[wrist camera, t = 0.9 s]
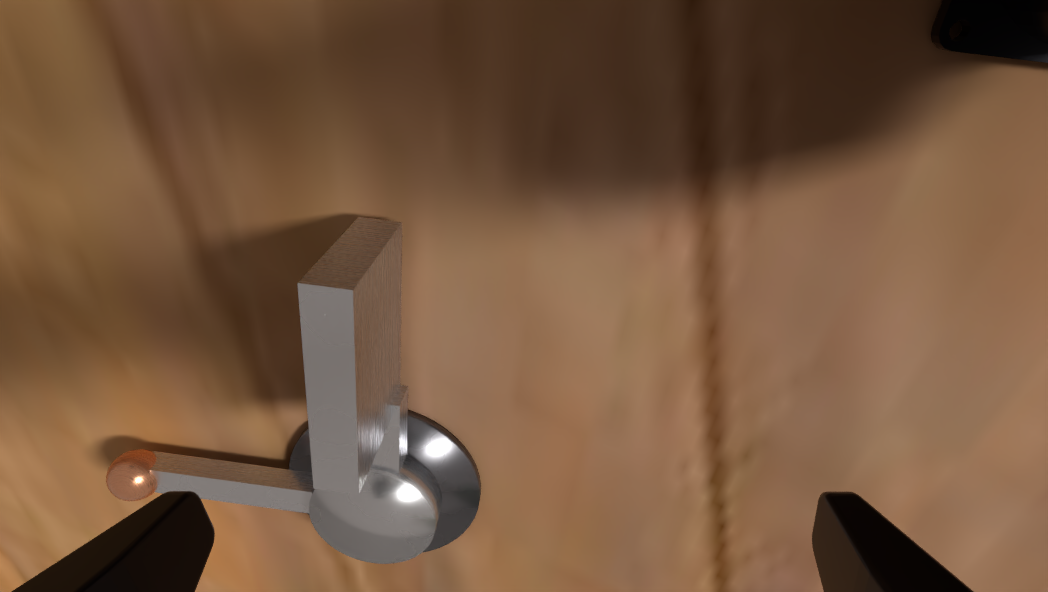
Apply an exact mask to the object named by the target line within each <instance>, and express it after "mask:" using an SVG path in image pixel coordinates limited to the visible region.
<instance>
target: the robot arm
mask: <svg viewBox="0 0 1048 592" xmlns="http://www.w3.org/2000/svg"><path fill="white" fill-rule="evenodd" d="M957 21H960V22H961V24H962V29H961V32H960V33H959V35H958V36H957V37H955V38H954V39H951V38H950V36H949V32H950V28H951V27H952V25H953V24H954V23H956V22H957ZM931 38H932V42H933V43H934V45H935V46H936V47H938V48H940V49H943V50H948V51H955V52H963V53H971V54H980V55H988V56H996V57H1004V58H1013V59H1021V60H1029V61H1038V62H1046V63H1048V0H943V1H942V4H941V7H940V9H939V12H938V14H937V17H936V20H935V22H934V25H933V27H932V32H931ZM214 534H215V533H214V528H213V525H212V523H211V521H210V519H209V516H208V514H207V512H206V510H205V508H204V506H203V503H202V501H201V499H200V497H199V496H198V495H197V494H196V493H195V492H192V491H170V492H166V493H164V494H162V495H160V496H159V497H157V498H156V499H154V500H153V501H151V502H149V503H148V504H146V505H145V506H143V507H142V508H140V509H139V510H137V511H136V512H134V513H132V514H131V515H129V516H128V517H126V518H125V519H123V520H122V521H120V522H118V523H117V524H115V525H114V526H112V527H111V528H109V529H108V530H106V531H105V532H103V533H101V534H100V535H98V536H97V537H95V538H94V539H92V540H91V541H89V542H88V543H86V544H84V545H83V546H81V547H80V548H78V549H77V550H75V551H74V552H72V553H71V554H69V555H67V556H66V557H64V558H63V559H61V560H60V561H58V562H57V563H55V564H53V565H52V566H50V567H49V568H47V569H46V570H44V571H43V572H41V573H40V574H38V575H36V576H35V577H33V578H32V579H30V580H29V581H27V582H26V583H24V584H23V585H21V586H19V587H18V588H16V589H15V590H13V591H12V592H195V590H196V587H197V585H198V582H199V580H200V577H201V575H202V572H203V569H204V567H205V564H206V562H207V559H208V557H209V554H210V552H211V549H212V546H213V543H214ZM812 545H813V551H814V556H815V559H816V563H817V567H818V571H819V575H820V578H821V582H822V586H823V590H824V592H973V591H972V590H971V589H970V588H969V587H967V586H966V585H965V584H964V583H963V582H962V581H960V580H959V579H958V578H957V577H956V576H954V575H953V574H952V573H951V572H950V571H948V570H947V569H946V568H945V567H944V566H942V565H941V564H940V563H939V562H938V561H937V560H935V559H934V558H933V557H932V556H931V555H929V554H928V553H927V552H926V551H925V550H923V549H922V548H921V547H920V546H919V545H917V544H916V543H915V542H914V541H913V540H911V539H910V538H909V537H908V536H907V535H906V534H904V533H903V532H902V531H901V530H900V529H898V528H897V527H896V526H895V525H894V524H892V523H891V522H890V521H889V520H888V519H886V518H885V517H884V516H883V515H882V514H881V513H879V512H878V511H877V510H876V509H875V508H873V507H872V506H871V505H870V504H869V503H867V502H866V501H865V500H864V499H863V498H861V497H860V496H859V495H857V494H855V493H853V492H824V493H822V494H821V495H820V497H819V500H818V505H817V511H816V516H815V522H814V527H813V533H812Z"/></svg>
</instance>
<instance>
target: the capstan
mask: <svg viewBox="0 0 1048 592" xmlns="http://www.w3.org/2000/svg"><path fill="white" fill-rule="evenodd" d="M401 278H402V222H397V221H389V220H381V219H373V218H365V217H358V218H357V219H356V220H355V221H354V222H353V224H352V225H351V226H350V227H349V228H348V229H347V230H346V231H345V232H344V233H343V234H342V235H341V236H340V238H339V239H338V240H337V241H336V242H335V243H334V244H333V245H332V246H331V247H330V248H329V249H328V251H327V252H326V253H325V254H324V255H323V256H322V257H321V258H320V259H319V260H318V261H317V262H316V263H315V265H314V266H313V267H312V268H311V269H310V270H309V271H308V272H307V273H306V274H305V275H304V276H303V278H302V279H301V280H300V281H299V282H298V283H297V284H298V297H299V310H300V323H301V335H302V348H303V361H304V374H305V387H306V399H307V412H308V425H309V438H310V451H311V463H312V473H311V472H303V471H296V470H289V469H281V468H274V467H267V466H259V465H252V464H245V463H237V462H230V461H223V460H215V459H208V458H201V457H193V456H186V455H179V454H172V453H164V452H157V451H153V452H151V451H148V450H143V449H137V450H131V451H128V452H126V453H124V454H122V455H120V456H119V457H117V458H116V459H115V460H114V461H113V462H112V464H111V465H110V467H109V469H108V471H107V475H106V483H107V487H108V489H109V491H110V492H111V493H112V494H113V495H114V496H115V497H117V498H119V499H121V500H125V501H138V500H141V499H144V498H147V497H148V496H150V495H152V494H153V493H154V492H158V493H166V492H170V491H192V492H195V493H196V494H197V495H198V496H199V497H200V498H201V499H208V500H216V501H223V502H230V503H237V504H245V505H252V506H259V507H266V508H274V509H281V510H288V511H295V512H303V513H309V515H310V519H311V522H312V524H313V526H314V528H315V530H316V531H317V532H318V534H319V535H320V536H321V537H322V538H323V539H324V540H325V541H326V542H327V543H328V544H329V545H330V546H332V547H333V548H335V549H336V550H338V551H340V552H341V553H343V554H345V555H347V556H349V557H352V558H355V559H358V560H361V561H365V562H371V563H380V564H389V563H398V562H403V561H406V560H409V559H412V558H414V557H416V556H417V555H419V554H421V553H422V552H423V551H424V550H425V549H426V548H427V547H428V546H429V545H430V543H431V541H432V539H433V536H434V533H435V529H436V526H437V522H438V518H439V514H440V510H441V506H442V493H441V489H440V486H439V483H438V482H437V480H436V478H435V477H434V475H433V474H432V473H431V471H430V470H429V469H428V468H427V467H426V466H424V465H423V464H422V463H421V462H419V461H418V460H416V459H415V458H413V457H411V456H410V455H408V454H407V425H408V386H404V385H400V361H401Z"/></svg>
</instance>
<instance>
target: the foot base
mask: <svg viewBox="0 0 1048 592" xmlns="http://www.w3.org/2000/svg"><path fill="white" fill-rule="evenodd" d="M407 454H408V455H410V456H411V457H413V458H415V459H416V460H418V461H419V462H421V463H422V464H423V465H424V466H426V467H427V468H428V469H429V470H430V471H431V473H432V474H433V475H434V477H435V478H436V480H437V482H438V483H439V486H440V489H441V493H442V506H441V510H440V514H439V518H438V522H437V526H436V529H435V533H434V536H433V539H432V541H431V543H430V545H429V546H428V547H427V548H426V549H425V550H424V551H423V552H427V551H431V550H434V549H437V548H440V547H442V546H444V545H446V544H449V543H450V542H452V541H453V540H455V539H457V538H458V537H459V536H460V535H461V534H463V533H464V532H465V530H466V529H467V528H468V527H469V526H470V524H471V523H472V521H473V519H474V518H475V515H476V513H477V510H478V505H479V500H480V495H481V482H480V476H479V472H478V469H477V466H476V464H475V462H474V460H473V458H472V456H471V455H470V453H469V452H468V450H467V449H466V448H465V446H464V445H463V444H462V443H461V442H460V441H459V440H458V439H457V438H456V437H455V436H454V435H453V434H452V433H450V432H449V431H448V430H447V429H445V428H444V427H442V426H441V425H439V424H438V423H436V422H435V421H433V420H431V419H429V418H427V417H425V416H423V415H420V414H418V413H415V412H413V411H410V410H408V425H407ZM289 470H296V471H303V472H311V473H312V463H311V451H310V438H309V426H308V427H307V429H306V430H305V431H304V432H303V433H302V435H301V437H300V438H299V440H298V442H297V443H296V445H295V447H294V449H293V452H292V454H291V458H290V464H289ZM308 514H309V513H308Z"/></svg>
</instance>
